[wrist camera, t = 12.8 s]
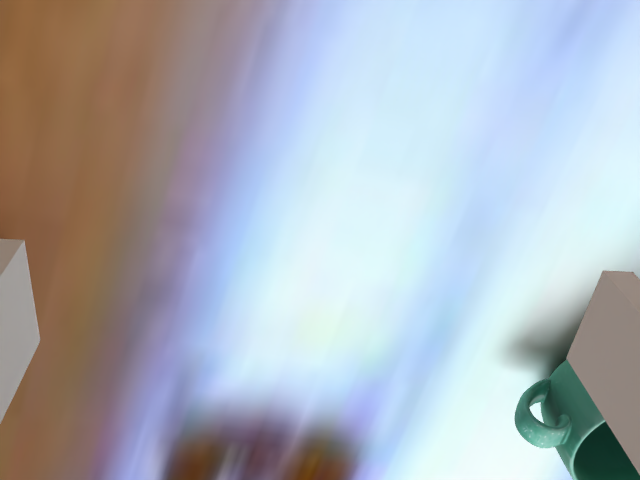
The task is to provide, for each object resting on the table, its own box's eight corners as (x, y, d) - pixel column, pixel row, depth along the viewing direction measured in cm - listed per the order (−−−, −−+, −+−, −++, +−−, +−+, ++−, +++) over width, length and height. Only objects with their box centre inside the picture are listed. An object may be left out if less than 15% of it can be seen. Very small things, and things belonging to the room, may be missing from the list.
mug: (679, 336, 58) (746, 411, 50) (614, 426, 64) (665, 506, 56) (526, 308, 55) (571, 383, 47) (472, 406, 61) (504, 487, 53)
